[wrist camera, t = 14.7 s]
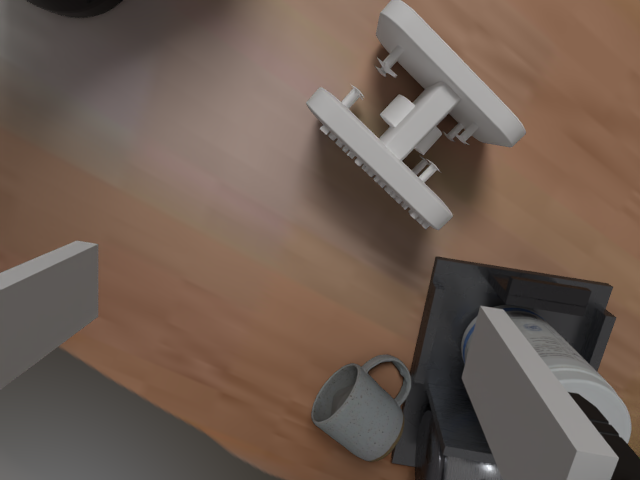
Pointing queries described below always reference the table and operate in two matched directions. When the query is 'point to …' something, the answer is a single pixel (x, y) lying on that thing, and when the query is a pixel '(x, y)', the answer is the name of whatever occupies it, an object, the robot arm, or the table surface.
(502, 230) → the table surface
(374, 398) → the ceramic mug
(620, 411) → the supplement tub
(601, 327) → the motor clip
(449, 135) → the cable organizer
